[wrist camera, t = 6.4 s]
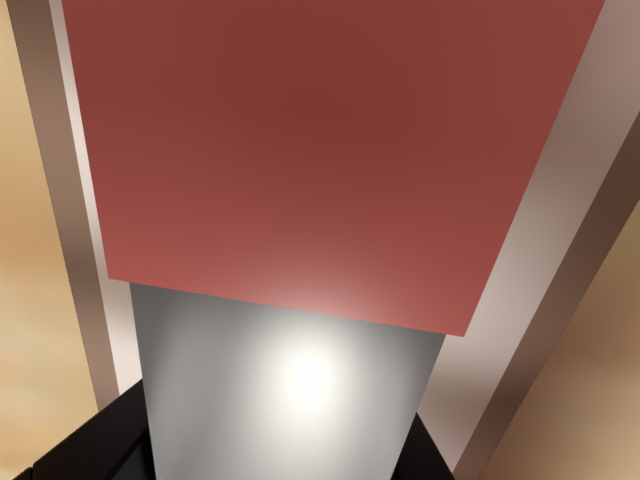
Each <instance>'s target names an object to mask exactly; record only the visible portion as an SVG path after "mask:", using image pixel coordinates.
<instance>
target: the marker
mask: <svg viewBox="0 0 640 480" xmlns="http://www.w3.org/2000/svg"><path fill="white" fill-rule="evenodd" d="M61 2H62V7H63V13H64V19H65V25H66V31H67V37H68V43H69V49H70V55H71V60H72V66H73V72H74V78H75V84H76V90H77V96H78V102H79V108H80V113H81V119H82V125H83V131H84V137H85V143H86V149H87V155H88V161H89V166H90V172H91V178H92V184H93V190H94V196H95V202H96V208H97V214H98V219H99V225H100V231H101V237H102V243H103V249H104V255H105V261H106V267H107V273H108V278H109V279H113V280H119V281H125V282H129V285H130V293H131V300H132V307H133V314H134V321H135V329H136V336H137V343H138V350H139V357H140V365H141V372H142V379H143V386H144V393H145V401H146V408H147V415H148V422H149V430H150V437H151V444H152V451H153V458H154V466H155V473H156V480H390V479H391V476H392V474H393V471H394V468H395V466H396V463H397V461H398V458H399V456H400V453H401V450H402V448H403V445H404V443H405V440H406V437H407V435H408V432H409V430H410V427H411V425H412V422H413V419H414V417H415V414H416V412H417V409H418V407H419V404H420V401H421V399H422V396H423V394H424V391H425V388H426V386H427V383H428V381H429V378H430V376H431V373H432V370H433V368H434V365H435V363H436V360H437V358H438V355H439V352H440V350H441V347H442V345H443V342H444V340H445V337H446V334H448V335H454V336H460V337H464V336H465V334H466V331H467V329H468V327H469V324H470V322H471V319H472V317H473V315H474V312H475V310H476V307H477V305H478V303H479V300H480V298H481V296H482V293H483V291H484V288H485V286H486V284H487V281H488V279H489V277H490V274H491V272H492V269H493V267H494V265H495V262H496V260H497V257H498V255H499V253H500V250H501V248H502V246H503V243H504V241H505V238H506V236H507V234H508V231H509V229H510V226H511V224H512V222H513V219H514V217H515V215H516V212H517V210H518V207H519V205H520V203H521V200H522V198H523V195H524V193H525V191H526V188H527V186H528V184H529V181H530V179H531V176H532V174H533V172H534V169H535V167H536V165H537V162H538V160H539V157H540V155H541V153H542V150H543V148H544V145H545V143H546V141H547V138H548V136H549V134H550V131H551V129H552V126H553V124H554V122H555V119H556V117H557V114H558V112H559V110H560V107H561V105H562V103H563V100H564V98H565V95H566V93H567V91H568V88H569V86H570V84H571V81H572V79H573V76H574V74H575V72H576V69H577V67H578V64H579V62H580V60H581V57H582V55H583V53H584V50H585V48H586V45H587V43H588V41H589V38H590V36H591V33H592V31H593V29H594V26H595V24H596V22H597V19H598V17H599V14H600V12H601V10H602V7H603V5H604V3H605V0H61Z"/></svg>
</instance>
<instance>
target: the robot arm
mask: <svg viewBox="0 0 640 480" xmlns="http://www.w3.org/2000/svg"><path fill="white" fill-rule="evenodd" d="M13 480H156V473H155V466H154V458H153V451H152V444H151V437H150V430H149V422H148V415H147V408H146V401H145V393H144V386H143V379H140V380H139V381H138V382H137V383H135V384H134V385H133V386H132V387H130V388H129V389H128V390H126V391H125V392H124V393H123V394H121V395H120V396H119V397H117V398H116V399H115V400H114V401H112V402H111V403H110V404H109V405H107V406H106V407H105V408H103V409H102V410H101V411H100V412H98V413H97V414H96V415H95V416H93V417H92V418H91V419H89V420H88V421H87V422H86V423H84V424H83V425H82V426H81V427H79V428H78V429H77V430H75V431H74V432H73V433H72V434H70V435H69V436H68V437H67V438H65V439H64V440H63V441H61V442H60V443H59V444H58V445H56V446H55V447H54V448H53V449H51V450H50V451H49V452H47V453H46V454H45V455H44V456H42V457H41V458H40V459H39V460H37V461H36V462H35V463H34V464H33V468H32V467H28V468H27V469H26V470H24V471H23V472H22V473H20V474H19V475H18V476H17V477H15V478H14V479H13ZM390 480H456V479H455V478H454V476H453V474H452V472H451V471H450V469H449V467H448V465H447V464H446V462H445V460H444V458H443V457H442V455H441V453H440V451H439V450H438V448H437V446H436V444H435V442H434V441H433V439H432V437H431V435H430V434H429V432H428V430H427V428H426V427H425V425H424V423H423V421H422V420H421V418H420V416H419V414H418V413H417V412H416V414H415V417H414V419H413V422H412V425H411V427H410V430H409V432H408V435H407V437H406V440H405V443H404V445H403V448H402V450H401V453H400V456H399V458H398V461H397V463H396V466H395V468H394V471H393V474H392V476H391V479H390Z"/></svg>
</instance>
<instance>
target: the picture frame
mask: <svg viewBox="0 0 640 480" xmlns="http://www.w3.org/2000/svg"><path fill="white" fill-rule="evenodd" d="M6 2H7V6H8V11H9V15H10V20H11V24H12V28H13V33H14V37H15V42H16V46H17V51H18V55H19V60H20V64H21V68H22V73H23V77H24V82H25V86H26V91H27V95H28V100H29V104H30V108H31V113H32V117H33V122H34V126H35V131H36V135H37V140H38V144H39V148H40V153H41V157H42V162H43V166H44V171H45V175H46V180H47V184H48V188H49V193H50V197H51V202H52V206H53V211H54V215H55V220H56V224H57V228H58V233H59V237H60V242H61V246H62V251H63V255H64V260H65V264H66V268H67V273H68V277H69V282H70V286H71V291H72V295H73V300H74V304H75V308H76V313H77V317H78V322H79V326H80V331H81V335H82V340H83V344H84V348H85V353H86V357H87V362H88V366H89V371H90V375H91V380H92V384H93V388H94V393H95V397H96V402H97V406H98V411H99V412H100V411H101V410H102V409H103V408H105V407H106V406H107V405H109V404H110V403H111V402H112V401H114V400H115V399H116V398H117V397H119V396H120V395H121V394H123V393H124V392H125V391H126V390H128V389H129V388H130V387H132V386H133V385H134V384H135V383H137V382H138V381H139V380H140V379H142V372H141V365H140V357H139V350H138V343H137V336H136V329H135V321H134V314H133V307H132V300H131V293H130V285H129V282H125V281H119V280H113V279H109V278H108V273H107V267H106V261H105V255H104V249H103V243H102V237H101V231H100V225H99V219H98V214H97V208H96V202H95V196H94V190H93V184H92V178H91V172H90V166H89V161H88V155H87V149H86V143H85V137H84V131H83V125H82V119H81V113H80V108H79V102H78V96H77V90H76V84H75V78H74V72H73V66H72V60H71V55H70V49H69V43H68V37H67V31H66V25H65V19H64V13H63V7H62V2H61V0H6ZM639 199H640V0H605V3H604V5H603V7H602V10H601V12H600V14H599V17H598V19H597V22H596V24H595V26H594V29H593V31H592V33H591V36H590V38H589V41H588V43H587V45H586V48H585V50H584V53H583V55H582V57H581V60H580V62H579V64H578V67H577V69H576V72H575V74H574V76H573V79H572V81H571V84H570V86H569V88H568V91H567V93H566V95H565V98H564V100H563V103H562V105H561V107H560V110H559V112H558V114H557V117H556V119H555V122H554V124H553V126H552V129H551V131H550V134H549V136H548V138H547V141H546V143H545V145H544V148H543V150H542V153H541V155H540V157H539V160H538V162H537V165H536V167H535V169H534V172H533V174H532V176H531V179H530V181H529V184H528V186H527V188H526V191H525V193H524V195H523V198H522V200H521V203H520V205H519V207H518V210H517V212H516V215H515V217H514V219H513V222H512V224H511V226H510V229H509V231H508V234H507V236H506V238H505V241H504V243H503V246H502V248H501V250H500V253H499V255H498V257H497V260H496V262H495V265H494V267H493V269H492V272H491V274H490V277H489V279H488V281H487V284H486V286H485V288H484V291H483V293H482V296H481V298H480V300H479V303H478V305H477V307H476V310H475V312H474V315H473V317H472V319H471V322H470V324H469V327H468V329H467V331H466V334H465V336H464V337H460V336H454V335H448V334H446V337H445V340H444V342H443V345H442V347H441V350H440V352H439V355H438V358H437V360H436V363H435V365H434V368H433V370H432V373H431V376H430V378H429V381H428V383H427V386H426V388H425V391H424V394H423V396H422V399H421V401H420V404H419V407H418V409H417V413H418V414H419V416H420V418H421V420H422V421H423V423H424V425H425V427H426V428H427V430H428V432H429V434H430V435H431V437H432V439H433V441H434V442H435V444H436V446H437V448H438V450H439V451H440V453H441V455H442V457H443V458H444V460H445V462H446V464H447V465H448V467H449V469H450V471H451V472H452V474H453V476H454V478H455V479H456V480H477V479H478V477H479V475H480V473H481V472H482V470H483V468H484V466H485V465H486V463H487V461H488V460H489V458H490V456H491V454H492V453H493V451H494V449H495V447H496V446H497V444H498V442H499V441H500V439H501V437H502V435H503V434H504V432H505V430H506V428H507V427H508V425H509V423H510V422H511V420H512V418H513V416H514V415H515V413H516V411H517V409H518V408H519V406H520V404H521V403H522V401H523V399H524V397H525V396H526V394H527V392H528V390H529V389H530V387H531V385H532V384H533V382H534V380H535V378H536V377H537V375H538V373H539V371H540V370H541V368H542V366H543V365H544V363H545V361H546V359H547V358H548V356H549V354H550V352H551V351H552V349H553V347H554V346H555V344H556V342H557V340H558V339H559V337H560V335H561V333H562V332H563V330H564V328H565V327H566V325H567V323H568V321H569V320H570V318H571V316H572V314H573V313H574V311H575V309H576V308H577V306H578V304H579V302H580V301H581V299H582V297H583V295H584V294H585V292H586V290H587V289H588V287H589V285H590V283H591V282H592V280H593V278H594V276H595V275H596V273H597V271H598V270H599V268H600V266H601V264H602V263H603V261H604V259H605V258H606V256H607V254H608V252H609V251H610V249H611V247H612V245H613V244H614V242H615V240H616V239H617V237H618V235H619V233H620V232H621V230H622V228H623V226H624V225H625V223H626V221H627V220H628V218H629V216H630V214H631V213H632V211H633V209H634V207H635V206H636V204H637V202H638V201H639Z"/></svg>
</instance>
